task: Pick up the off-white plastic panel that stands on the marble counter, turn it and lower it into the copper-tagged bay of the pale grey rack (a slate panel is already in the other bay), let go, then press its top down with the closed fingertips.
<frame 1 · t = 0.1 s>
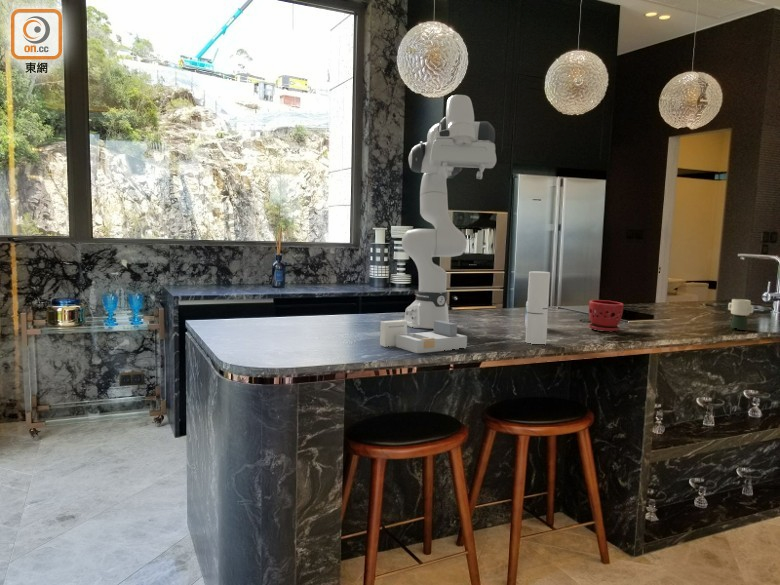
hand: (464, 177, 180), 54 cm above the table, tool tilted 30°, fingers open, 8 cm apart
rack: (431, 347, 197), on the table
panel: (393, 345, 199), on the table
light bulb box: (535, 329, 242), on the table
character mug: (738, 330, 256), on the table
white tall box: (535, 343, 210), on the table
plant pot: (604, 331, 243), on the table
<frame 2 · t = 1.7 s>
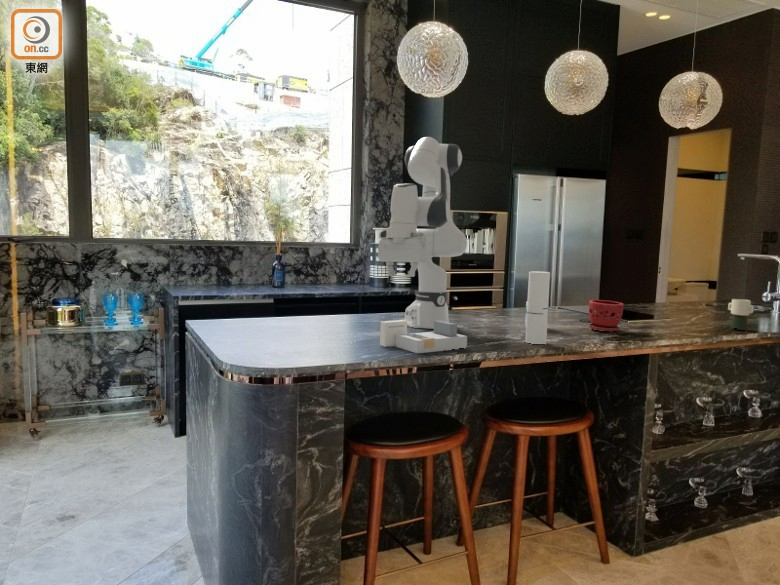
hand: (401, 276, 193), 23 cm above the table, tool pointing down, fingers open, 8 cm apart
nothing on the table moved.
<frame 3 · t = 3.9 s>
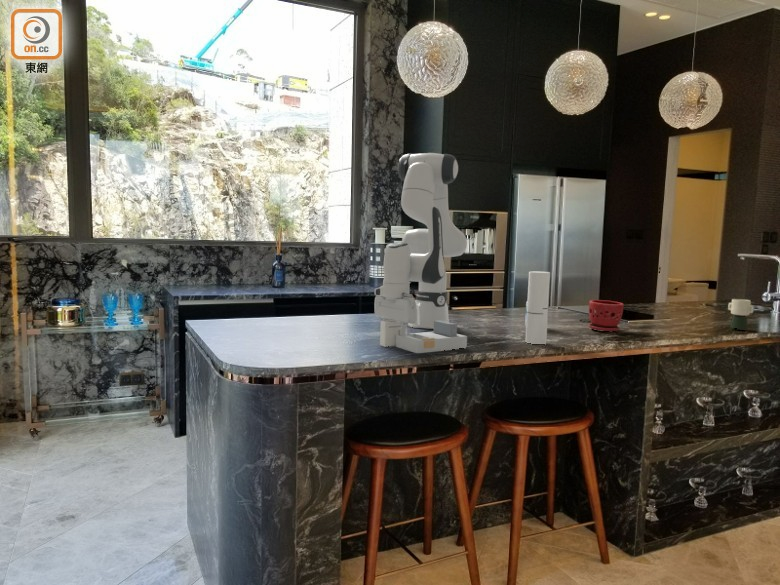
hand: (394, 333, 198), 4 cm above the table, tool pointing down, fingers open, 7 cm apart
nothing on the table moved.
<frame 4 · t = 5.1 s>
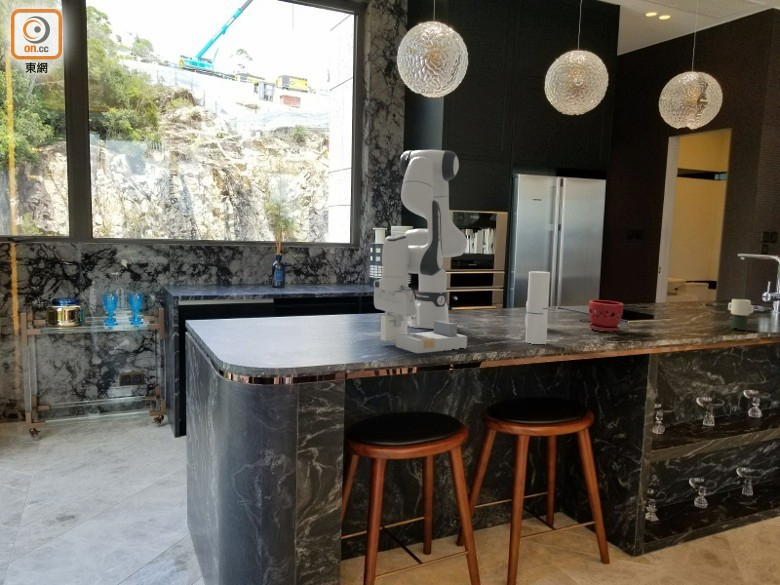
hand: (393, 325, 199), 6 cm above the table, tool pointing down, fingers closed on panel, 3 cm apart
panel: (393, 339, 200), point 2 cm above the table, touching gripper
everything else where it was.
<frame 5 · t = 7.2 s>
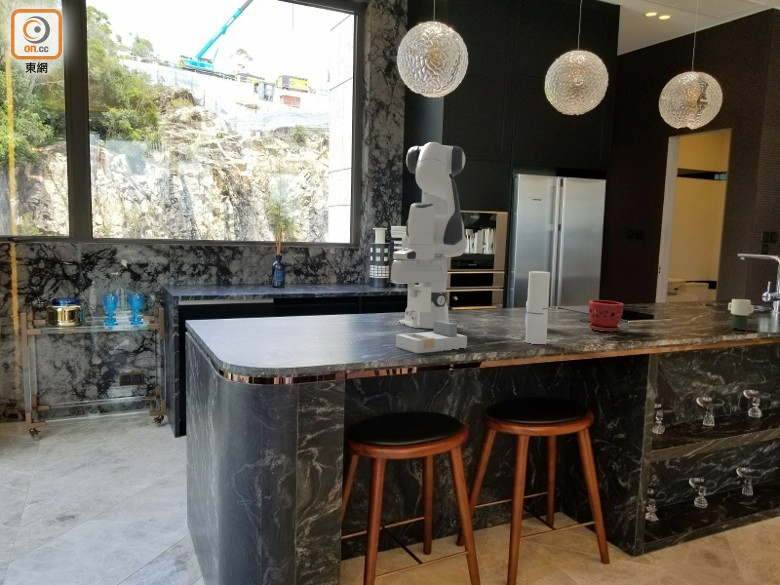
hand: (419, 297, 192), 17 cm above the table, tool pointing down, fingers closed on panel, 3 cm apart
panel: (418, 310, 192), point 12 cm above the table, touching gripper
everything else where it was.
when the fingers open (5 cm above the table, at t = 9.4 s): panel stays where it is, resting on rack.
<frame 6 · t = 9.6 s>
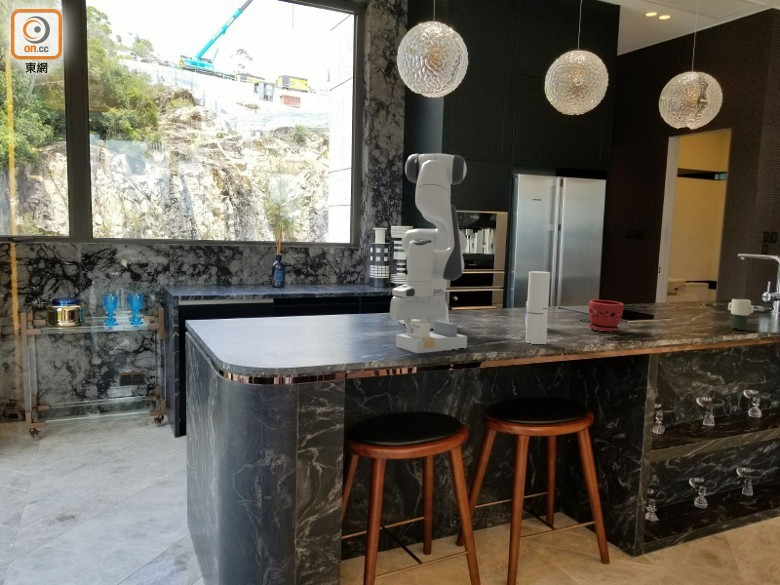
hand: (418, 332, 193), 5 cm above the table, tool pointing down, fingers open, 5 cm apart
panel: (417, 345, 194), point 1 cm above the table, touching rack
everything else where it was.
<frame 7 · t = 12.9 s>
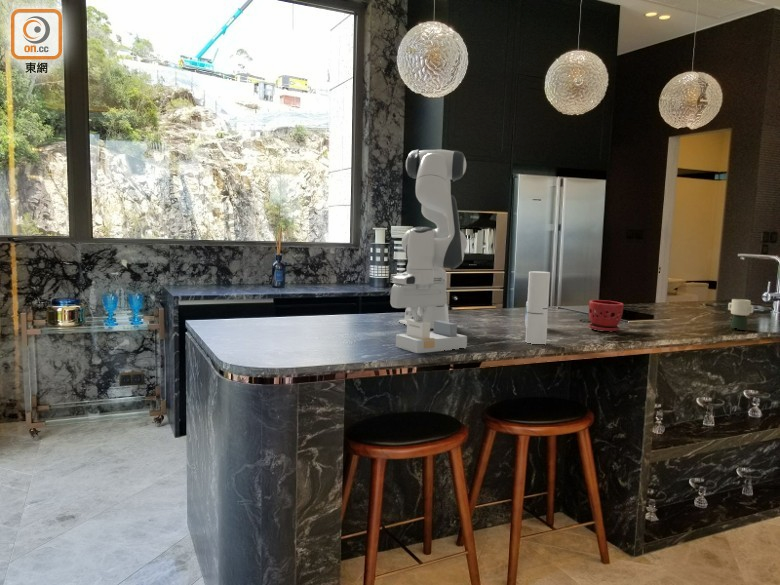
hand: (418, 320, 193), 9 cm above the table, tool pointing down, fingers closed
nothing on the table moved.
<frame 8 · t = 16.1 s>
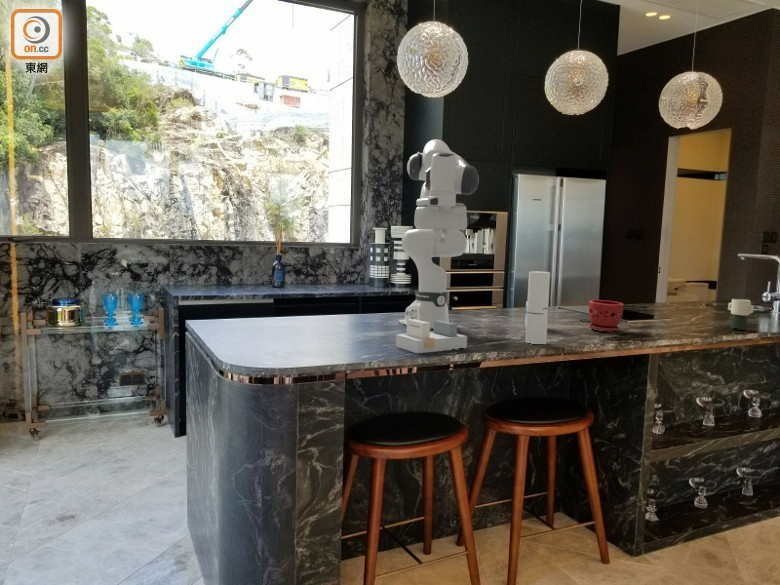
hand: (440, 242, 202), 34 cm above the table, tool pointing down, fingers closed
nothing on the table moved.
at the end: panel 0.1 cm from the target spot on the rack, point 1.0 cm above the rack's base; panel tilted 0°; the gripper is holding nothing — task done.
